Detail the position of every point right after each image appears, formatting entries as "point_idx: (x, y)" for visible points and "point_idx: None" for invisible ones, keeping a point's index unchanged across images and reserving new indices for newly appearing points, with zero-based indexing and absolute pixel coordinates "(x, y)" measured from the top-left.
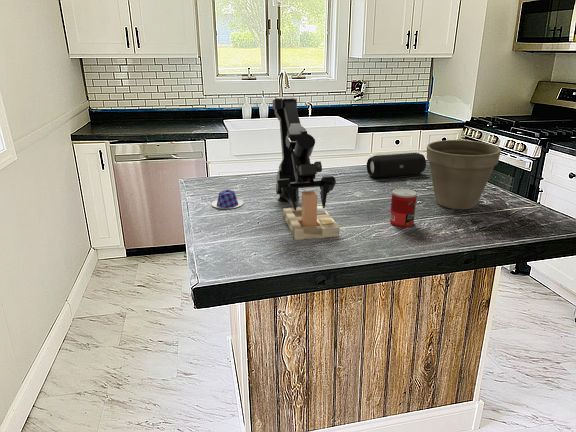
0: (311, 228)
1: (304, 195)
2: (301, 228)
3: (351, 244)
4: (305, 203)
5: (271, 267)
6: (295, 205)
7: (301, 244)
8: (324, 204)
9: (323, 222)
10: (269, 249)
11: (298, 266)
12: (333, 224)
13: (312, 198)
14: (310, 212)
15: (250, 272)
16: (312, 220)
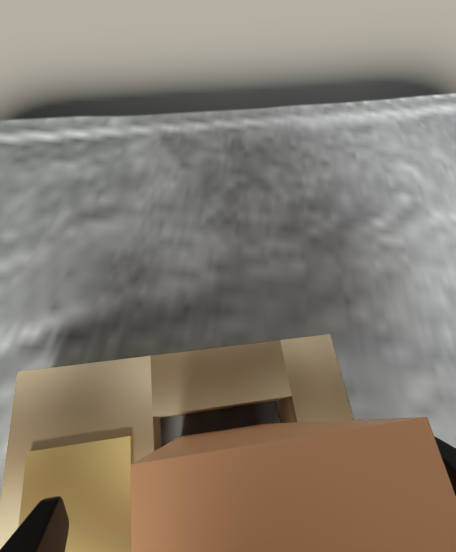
0: (225, 369)
1: (434, 439)
2: (294, 374)
3: (27, 268)
4: (335, 421)
5: (379, 137)
6: (453, 465)
7: (279, 293)
8: (28, 531)
9: (112, 474)
10: (418, 259)
11: (292, 131)
12: (40, 437)
13: (241, 443)
14: (241, 431)
15: (435, 122)
16: (213, 433)
